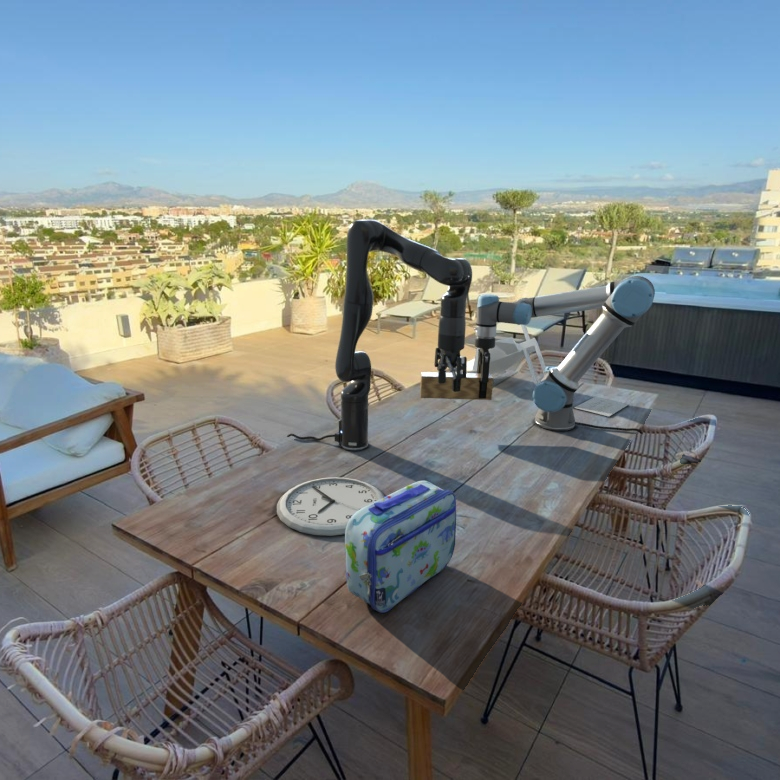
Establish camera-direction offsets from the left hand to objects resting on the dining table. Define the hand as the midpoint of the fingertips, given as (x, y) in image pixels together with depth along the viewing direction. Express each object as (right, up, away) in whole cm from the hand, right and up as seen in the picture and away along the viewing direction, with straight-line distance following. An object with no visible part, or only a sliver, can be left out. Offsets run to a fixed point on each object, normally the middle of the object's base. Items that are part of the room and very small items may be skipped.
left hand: (448, 387), depth 151 cm
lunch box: (-14, -42, -39) cm, 60 cm away
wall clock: (-33, -32, -9) cm, 47 cm away
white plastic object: (+39, +2, +107) cm, 114 cm away
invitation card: (+74, -8, +75) cm, 106 cm away
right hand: (+18, -3, +51) cm, 54 cm away
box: (+8, -3, +51) cm, 52 cm away
